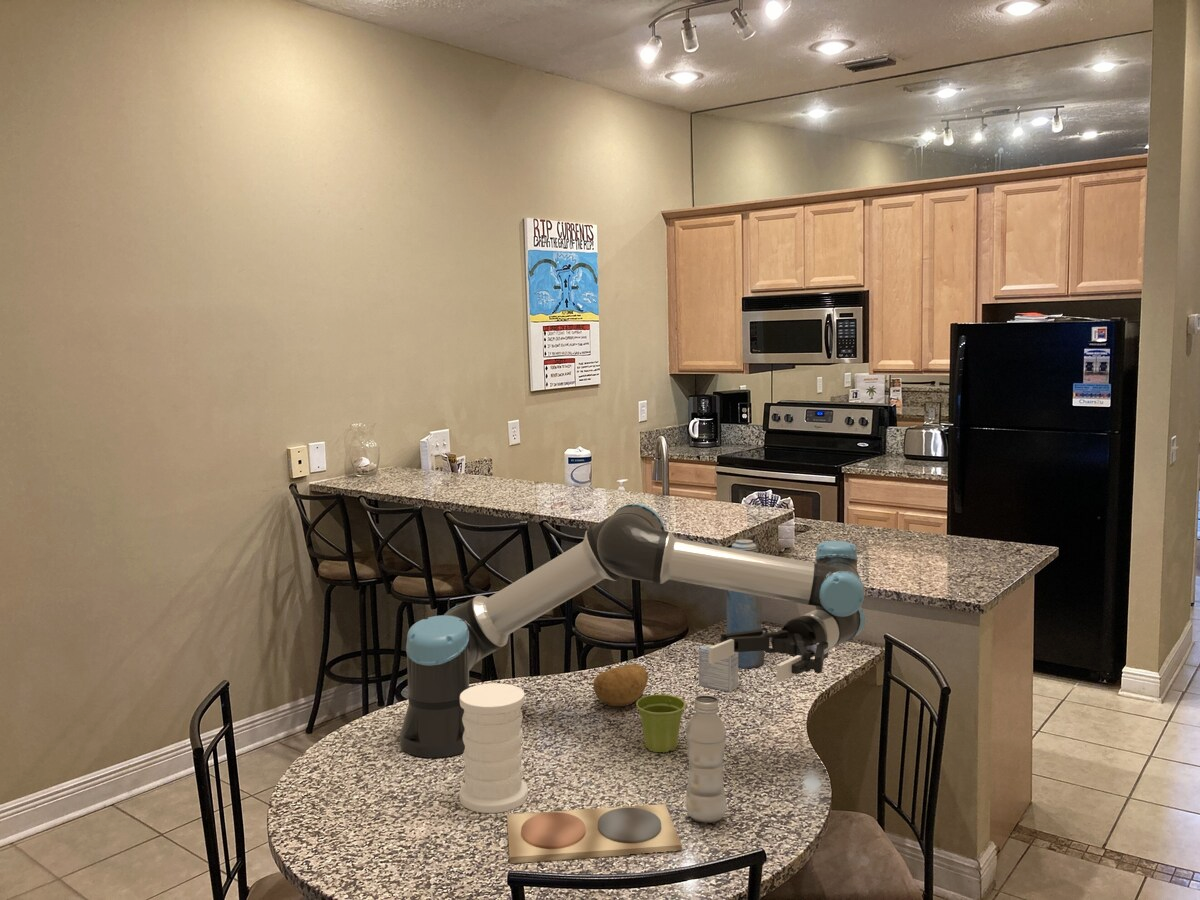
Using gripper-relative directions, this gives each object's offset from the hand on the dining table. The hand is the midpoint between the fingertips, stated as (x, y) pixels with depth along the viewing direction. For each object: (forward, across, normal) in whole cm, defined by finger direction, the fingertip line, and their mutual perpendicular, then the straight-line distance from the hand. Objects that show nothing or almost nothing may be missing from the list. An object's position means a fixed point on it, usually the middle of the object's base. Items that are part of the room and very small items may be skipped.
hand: (743, 664), depth 159 cm
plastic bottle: (+10, 0, -23) cm, 25 cm away
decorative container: (+28, +32, -23) cm, 48 cm away
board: (+26, +10, -23) cm, 37 cm away
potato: (-18, +43, -23) cm, 52 cm away
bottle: (-58, +39, -24) cm, 73 cm away
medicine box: (-40, +34, -24) cm, 58 cm away
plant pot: (-6, +23, -23) cm, 33 cm away
